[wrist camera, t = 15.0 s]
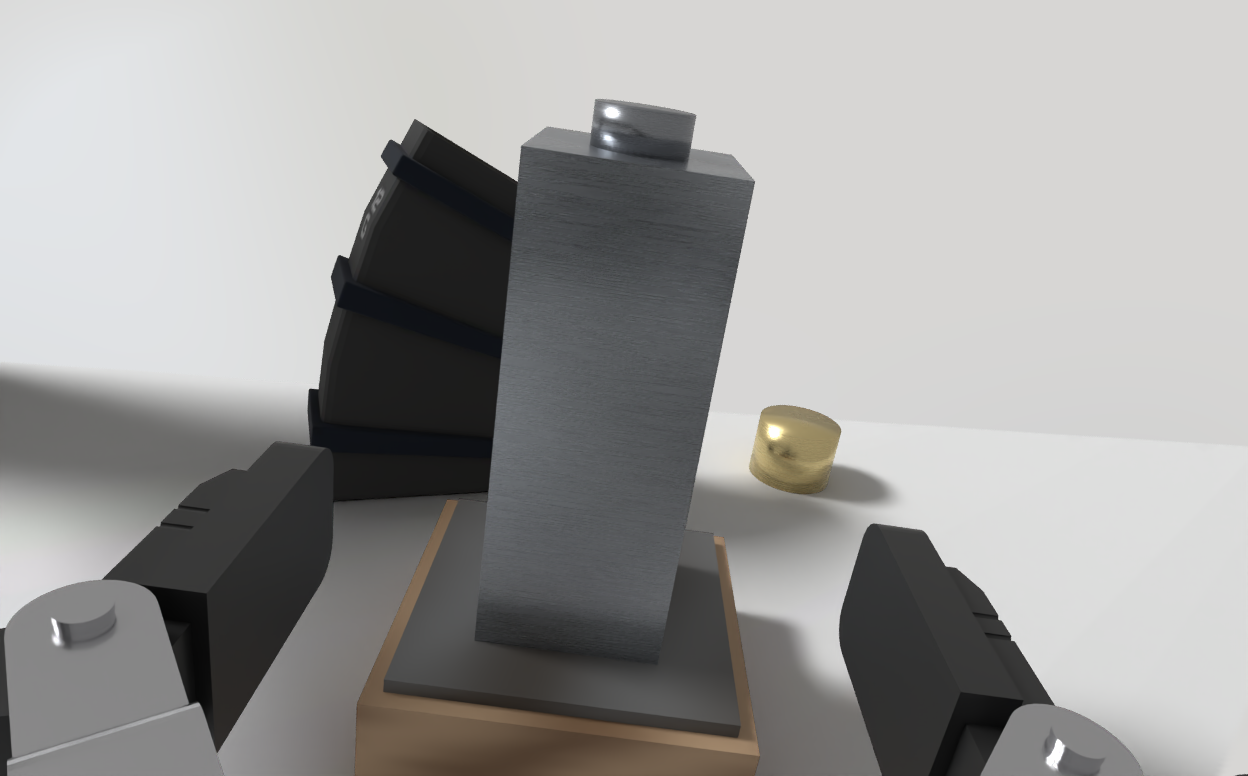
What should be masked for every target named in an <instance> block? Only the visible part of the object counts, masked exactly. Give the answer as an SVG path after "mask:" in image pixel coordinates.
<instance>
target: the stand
mask: <svg viewBox="0 0 1248 776" xmlns="http://www.w3.org/2000/svg"><path fill="white" fill-rule="evenodd" d="M486 513H487V502H482V501H474V500H467V499H460V498H459V500H458V501H457V500H449V499H447V501H446V504H445V506H444V508H443V510H442V513H441V515H440V517H439V519H438V522H437V524H436V526H435V528H434V531H433V533H432V535H431V537H430V540H429V542H428V544H427V546H426V549H425V551H424V553H423V555H422V558H421V560H420V562H419V565H418V567H417V569H416V571H415V574H414V576H413V578H412V580H411V583H410V585H409V587H408V589H407V592H406V594H405V596H404V598H403V601H402V603H401V605H400V607H399V610H398V612H397V614H396V616H395V619H394V621H393V623H392V626H391V628H390V630H389V632H388V635H387V637H386V639H385V641H384V644H383V646H382V648H381V650H380V653H379V655H378V657H377V659H376V662H375V664H374V666H373V668H372V671H371V673H370V675H369V677H368V680H367V682H366V684H365V687H364V689H363V691H362V693H361V696H360V698H359V700H358V702H357V714H356V748H355V776H755V772H756V768H757V765H758V761H759V758H760V754H759V748H758V741H757V735H756V729H755V723H754V717H753V711H752V705H751V699H750V693H749V687H748V681H747V675H746V669H745V663H744V657H743V651H742V645H741V638H740V632H739V626H738V620H737V614H736V608H735V602H734V596H733V590H732V584H731V578H730V572H729V566H728V560H727V554H726V548H725V541H724V537H718V536H714V535H713V533H706V532H699V531H692V530H685V531H684V536H683V541H682V546H681V551H680V556H679V561H678V566H677V571H676V576H675V581H674V586H673V591H672V596H671V601H670V606H669V611H668V616H667V621H666V626H665V631H664V636H663V641H662V646H661V651H660V656H659V661H658V665H654V664H647V663H639V662H632V661H624V660H617V659H609V658H602V657H594V656H586V655H579V654H571V653H564V652H556V651H549V650H541V649H534V648H526V647H519V646H511V645H504V644H496V643H489V642H481V641H474V639H475V628H476V618H477V607H478V597H479V586H480V576H481V565H482V555H483V544H484V534H485V523H486Z"/></svg>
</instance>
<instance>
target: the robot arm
mask: <svg viewBox="0 0 1248 776" xmlns="http://www.w3.org/2000/svg"><path fill="white" fill-rule="evenodd" d="M333 473H334V463H333V455H332V452H331V450H330V449H328V448H323V447H316V446H309V445H302V444H295V443H288V442H280V441H277V442H275V443H273V444H272V445H271V446H270V447H269V448H268V449H267V450H266V451H265V452H264V453H263V455H262V456H261V457H260V458H259V459H258V460H257V461H256V462H255V463H254V464H253V465H252V466H251V467H250V468H249V469H248V470H247V471H244V470H237V469H231V470H229V471H227V472H225V473H223V474H221V475H219V476H217V477H214V478H212V479H210V480H208V481H206V482H204V483H202V484H200V485H199V486H198V487H197V488H196V489H195V490H194V491H193V492H192V493H190V494H189V495H188V496H187V497H186V498H185V499H184V500H183V501H182V502H181V503H180V504H179V507H178V509H174V510H173V511H172V512H171V513H170V514H169V515H168V516H167V517H166V518H165V519H164V520H163V521H162V522H161V526H160V527H157V526H156V527H155V528H154V529H153V530H152V531H151V532H150V533H149V534H148V535H147V536H146V537H145V538H144V539H143V540H142V541H141V542H140V543H139V544H138V545H137V546H136V547H135V548H134V549H133V550H132V551H131V552H130V553H129V554H128V555H127V556H126V557H125V558H124V559H122V560H121V561H120V562H119V563H118V564H117V565H116V566H115V567H114V568H113V569H112V570H111V571H110V572H109V573H108V574H107V575H106V576H105V577H104V578H103V579H102V580H95V581H87V582H81V583H76V584H72V585H68V586H64V587H62V588H59V589H56V590H53V591H51V592H48V593H46V594H44V595H42V596H40V597H38V598H36V599H34V600H33V601H31V602H29V603H28V604H27V605H25V606H24V607H22V608H21V609H20V610H19V611H18V612H17V613H16V614H15V615H14V616H13V617H12V619H11V620H10V621H9V623H8V625H7V627H6V628H2V629H0V776H224V774H223V771H222V768H221V765H220V762H219V759H218V756H217V753H218V751H219V749H220V748H221V746H222V744H223V743H224V741H225V740H226V738H227V736H228V735H229V733H230V731H231V730H232V728H233V726H234V725H235V723H236V722H237V720H238V718H239V717H240V715H241V713H242V712H243V710H244V708H245V707H246V705H247V703H248V702H249V700H250V699H251V697H252V695H253V694H254V692H255V690H256V689H257V687H258V685H259V684H260V682H261V681H262V679H263V677H264V676H265V674H266V672H267V671H268V669H269V667H270V666H271V664H272V663H273V661H274V659H275V658H276V656H277V654H278V653H279V651H280V649H281V648H282V646H283V645H284V643H285V641H286V640H287V638H288V636H289V635H290V633H291V631H292V630H293V628H294V626H295V625H296V623H297V622H298V620H299V618H300V617H301V615H302V613H303V612H304V610H305V608H306V607H307V605H308V604H309V602H310V600H311V599H312V597H313V595H314V594H315V592H316V590H317V589H318V587H319V586H320V584H321V582H322V580H323V578H324V576H325V573H326V570H327V567H328V564H329V560H330V555H331V549H332V539H333ZM839 639H840V647H841V651H842V654H843V658H844V661H845V664H846V667H847V670H848V673H849V676H850V679H851V682H852V685H853V688H854V691H855V694H856V697H857V700H858V703H859V706H860V709H861V712H862V715H863V718H864V721H865V724H866V727H867V730H868V734H869V737H870V740H871V743H872V746H873V749H874V752H875V755H876V758H877V761H878V764H879V767H880V770H881V773H882V776H1143V773H1142V770H1141V768H1140V766H1139V764H1138V762H1137V761H1136V759H1135V758H1134V756H1133V755H1132V754H1131V752H1130V751H1129V750H1128V749H1127V748H1126V746H1124V745H1123V744H1122V743H1121V742H1120V741H1119V740H1118V739H1117V738H1116V737H1115V736H1113V735H1112V734H1111V733H1110V732H1109V731H1107V730H1106V729H1104V728H1103V727H1101V726H1100V725H1098V724H1097V723H1095V722H1093V721H1091V720H1090V719H1088V718H1086V717H1084V716H1082V715H1080V714H1078V713H1075V712H1073V711H1070V710H1067V709H1065V708H1061V707H1057V706H1055V705H1054V703H1053V702H1052V700H1051V699H1050V697H1049V695H1048V694H1047V692H1046V691H1045V689H1044V687H1043V686H1042V684H1041V683H1040V681H1039V679H1038V678H1037V676H1036V675H1035V673H1034V671H1033V670H1032V668H1031V667H1030V665H1029V664H1028V662H1027V660H1026V659H1025V657H1024V656H1023V654H1022V652H1021V651H1020V649H1019V648H1018V646H1017V644H1016V643H1015V641H1011V635H1010V633H1009V632H1008V630H1007V629H1006V627H1005V625H1004V624H1003V622H1002V621H1000V620H998V614H997V613H996V611H995V609H994V608H993V606H992V605H991V603H990V601H989V600H988V598H987V597H986V595H985V594H984V592H983V591H982V590H981V589H980V588H979V587H978V586H976V585H975V584H974V583H973V582H972V581H971V580H969V579H968V578H967V577H966V576H965V575H964V574H962V573H961V572H960V571H959V570H958V569H957V568H953V567H945V565H944V563H943V561H942V560H941V558H940V556H939V555H938V553H937V551H936V550H935V548H934V546H933V544H932V543H931V541H930V539H929V538H928V536H927V534H926V533H925V532H924V531H922V530H917V529H910V528H903V527H896V526H888V525H881V524H871V525H870V526H869V527H868V528H867V530H866V532H865V534H864V536H863V539H862V543H861V546H860V549H859V553H858V556H857V559H856V563H855V566H854V569H853V573H852V576H851V579H850V583H849V586H848V589H847V593H846V596H845V599H844V603H843V606H842V610H841V615H840V624H839ZM1237 776H1248V774H1247V775H1246V774H1244V775H1237Z"/></svg>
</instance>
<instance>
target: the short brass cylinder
mask: <svg viewBox="0 0 1248 776" xmlns="http://www.w3.org/2000/svg"><path fill="white" fill-rule="evenodd" d="M840 434H841V429H840V427H839V425H838V424H837V423H836V422H835V421H833V420H832V419H830V418H828V417H827V416H825V415H823V414H821V413H818V412H815V411H812V410H809V409H806V408H801V407H796V406H787V405H776V406H770V407H767V408H765V409H764V410H763V411H762V412H761V416H760V420H759V425H758V429H757V433H756V438H755V442H754V447H753V451H752V455H751V460H750V464H749V469H750V471H751V473H752V474H753V475H754V476H755V477H756V478H757V479H758V480H760V481H761V482H763V483H765V484H767V485H768V486H771V487H773V488H776V489H779V490H782V491H786V492H790V493H797V494H812V493H817V492H820V491H822V490H823V489H825V487H826V486H827V482H828V479H829V475H830V471H831V468H832V464H833V460H834V457H835V453H836V449H837V446H838V442H839V438H840Z"/></svg>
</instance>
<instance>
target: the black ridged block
mask: <svg viewBox="0 0 1248 776" xmlns="http://www.w3.org/2000/svg"><path fill="white" fill-rule="evenodd" d="M381 158H382V159H383V161H384V162H385V164H386V165H387V167H388V169H387V171H386V173H385V174H384V176H383V178H382V180H381V182H380V184H379V186H378V187H377V189H376V191H375V193H374V195H373V196H372V198H371V200H370V202H369V204H368V206H367V208H366V209H365V211H364V215H363V217H362V221H361V224H360V227H359V230H358V233H357V236H356V239H355V243H354V245H353V248H352V251H351V254H350V257H349V259H348V258H346V257H343V256H341V255H339V256H338V258H337V261H336V263H335V266H334V269H333V273H332V275H331V280H332V284H333V290H334V294H335V299H336V301H335V305H334V309H333V312H332V315H331V319H330V323H329V326H328V330H327V334H326V337H325V341H324V349H323V358H322V365H321V374H320V382H319V390H318V389H309V394H308V422H309V434H310V446H316V447H323V448H328V449H330V450H331V452H332V455H333V463H334V473H333V501H335V500H351V499H368V498H384V497H400V496H417V495H433V494H449V493H466V492H482V491H489V481H490V470H491V460H492V449H493V439H494V428H495V418H496V407H497V397H498V386H499V376H500V365H501V355H502V344H503V334H504V323H505V313H506V302H507V291H508V281H509V270H510V260H511V249H512V239H513V228H514V218H515V207H516V197H517V186H518V182H517V181H515V180H514V179H512V178H510V177H509V176H507V175H506V174H504V173H502V172H501V171H499V170H497V169H496V168H494V167H493V166H491V165H489V164H488V163H486V162H484V161H483V160H481V159H479V158H478V157H476V156H475V155H473V154H471V153H470V152H468V151H466V150H465V149H463V148H461V147H460V146H458V145H457V144H455V143H453V142H452V141H450V140H448V139H447V138H445V137H444V136H442V135H440V134H439V133H437V132H435V131H434V130H432V129H430V128H429V127H427V126H425V125H424V124H422V123H421V122H419V121H417V120H414V121H413V123H412V125H411V127H410V129H409V131H408V132H407V134H406V136H405V138H404V140H403V141H402V143H401V145H400V144H398V143H396V142H395V141H393V140H389V142H388V144H387V146H386V148H385V149H384V151H383V153H382V155H381Z"/></svg>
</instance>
